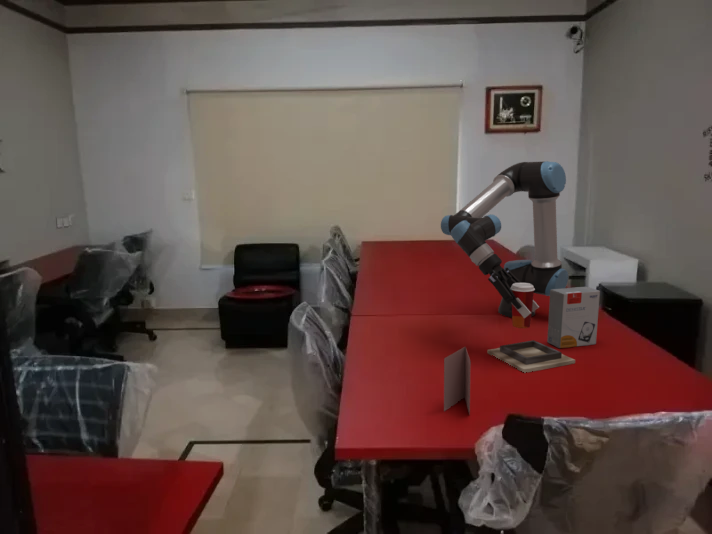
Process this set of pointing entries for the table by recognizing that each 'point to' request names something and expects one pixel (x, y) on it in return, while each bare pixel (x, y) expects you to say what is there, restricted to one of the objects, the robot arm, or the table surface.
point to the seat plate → (530, 356)
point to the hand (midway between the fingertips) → (532, 312)
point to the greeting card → (457, 378)
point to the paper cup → (526, 296)
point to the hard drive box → (573, 316)
